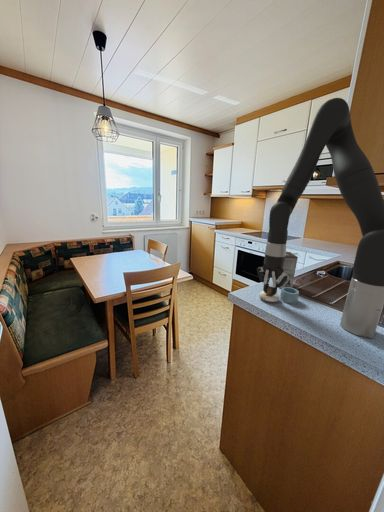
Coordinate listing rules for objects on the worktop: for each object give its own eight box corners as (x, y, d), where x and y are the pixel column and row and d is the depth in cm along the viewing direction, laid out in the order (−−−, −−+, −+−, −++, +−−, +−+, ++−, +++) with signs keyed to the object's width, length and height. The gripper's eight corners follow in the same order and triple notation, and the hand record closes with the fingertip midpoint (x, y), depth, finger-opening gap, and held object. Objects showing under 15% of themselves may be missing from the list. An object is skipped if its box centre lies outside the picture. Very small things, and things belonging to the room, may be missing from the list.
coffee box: (272, 281, 110) (277, 251, 105) (284, 281, 110) (290, 251, 105) (279, 288, 101) (284, 256, 96) (292, 289, 101) (298, 256, 96)
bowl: (299, 300, 89) (301, 291, 88) (293, 305, 85) (294, 295, 84) (284, 295, 94) (285, 285, 93) (277, 299, 90) (278, 289, 88)
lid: (282, 297, 89) (284, 287, 88) (273, 303, 84) (275, 293, 82) (264, 291, 95) (266, 282, 93) (255, 296, 89) (256, 286, 88)
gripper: (296, 255, 82) (289, 296, 86) (263, 249, 92) (258, 286, 96) (288, 259, 77) (281, 302, 81) (254, 251, 87) (249, 290, 91)
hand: (269, 293), depth 89 cm, fingers closed on lid, 2 cm apart
